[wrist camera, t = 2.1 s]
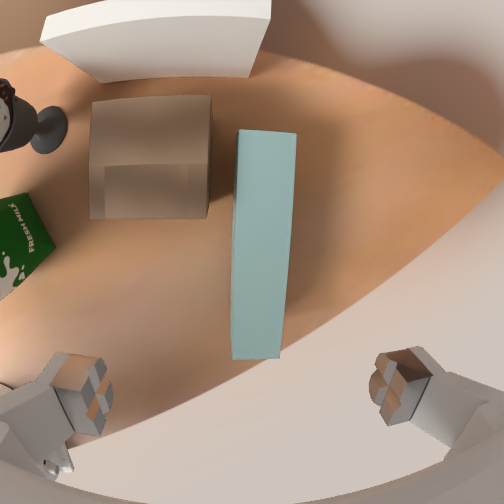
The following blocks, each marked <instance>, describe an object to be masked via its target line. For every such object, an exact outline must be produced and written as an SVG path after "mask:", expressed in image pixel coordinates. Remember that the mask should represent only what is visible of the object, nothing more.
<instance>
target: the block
mask: <svg viewBox="0 0 504 504" xmlns="http://www.w3.org/2000/svg"><path fill="white" fill-rule="evenodd" d="M212 121H213V114H212V102H211V95H163V96H146V97H133V98H122V99H113V100H104V101H97V102H92V113H91V126H90V143H89V212H90V220H97V219H206V217H207V213H208V208H209V200H210V166H211V141H212Z"/></svg>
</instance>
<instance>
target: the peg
mask: <svg viewBox="0 0 504 504" xmlns="http://www.w3.org/2000/svg"><path fill="white" fill-rule="evenodd" d="M296 136H297V133H287V132H275V131H261V130H243V129H239V131H238V133H237V135H236V143H235V166H234V192H233V223H232V259H231V308H230V340H231V350H232V360H253V359H276V358H280V349H281V340H282V330H283V320H284V310H285V300H286V289H287V277H288V265H289V253H290V240H291V226H292V211H293V195H294V178H295V158H296Z"/></svg>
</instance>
